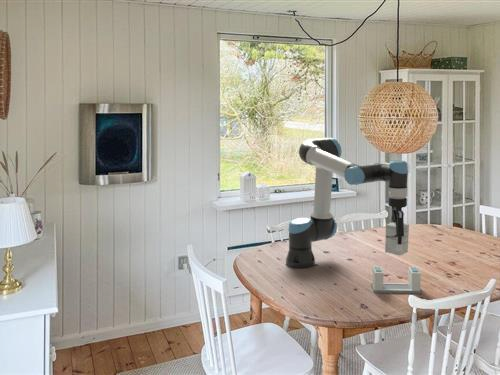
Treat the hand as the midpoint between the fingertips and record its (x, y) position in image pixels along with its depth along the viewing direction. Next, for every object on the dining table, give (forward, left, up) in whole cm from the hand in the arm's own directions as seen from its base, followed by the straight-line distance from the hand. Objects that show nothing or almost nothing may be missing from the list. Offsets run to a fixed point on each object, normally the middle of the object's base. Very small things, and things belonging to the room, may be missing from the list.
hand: (396, 247), depth 204 cm
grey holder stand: (0, 0, -19) cm, 19 cm away
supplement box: (0, 0, -2) cm, 2 cm away
